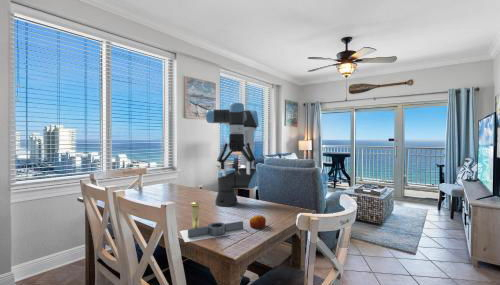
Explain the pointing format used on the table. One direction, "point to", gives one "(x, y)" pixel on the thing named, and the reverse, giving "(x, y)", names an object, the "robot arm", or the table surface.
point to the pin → (195, 214)
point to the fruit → (257, 222)
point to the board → (186, 239)
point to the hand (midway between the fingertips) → (236, 175)
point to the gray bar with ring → (215, 229)
